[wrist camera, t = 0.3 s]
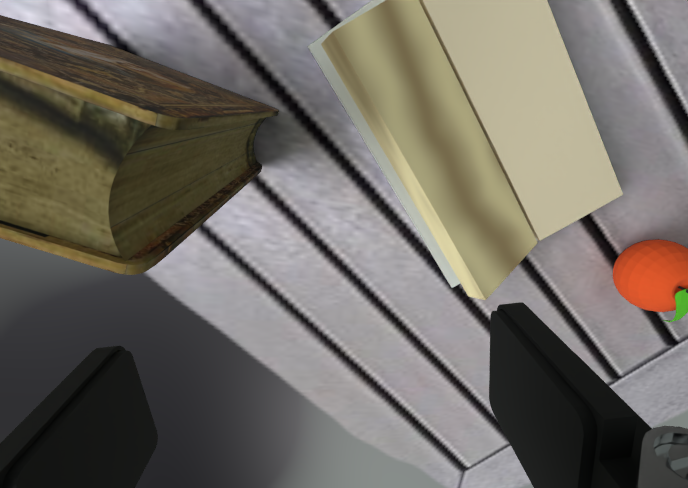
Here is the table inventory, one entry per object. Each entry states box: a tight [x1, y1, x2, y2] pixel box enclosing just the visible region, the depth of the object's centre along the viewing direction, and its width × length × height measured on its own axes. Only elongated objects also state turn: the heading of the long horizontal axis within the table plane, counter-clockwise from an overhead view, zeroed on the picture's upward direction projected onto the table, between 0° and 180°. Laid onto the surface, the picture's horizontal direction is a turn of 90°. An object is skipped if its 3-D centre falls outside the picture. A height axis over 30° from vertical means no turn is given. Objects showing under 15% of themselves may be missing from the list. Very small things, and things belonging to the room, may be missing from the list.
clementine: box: [613, 239, 688, 322], centre depth 38 cm, size 8×7×7 cm
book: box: [0, 15, 279, 275], centre depth 23 cm, size 16×6×25 cm, turn 70°
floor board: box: [308, 0, 623, 288], centre depth 34 cm, size 18×26×4 cm
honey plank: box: [321, 0, 538, 300], centre depth 32 cm, size 8×24×2 cm, turn 32°
